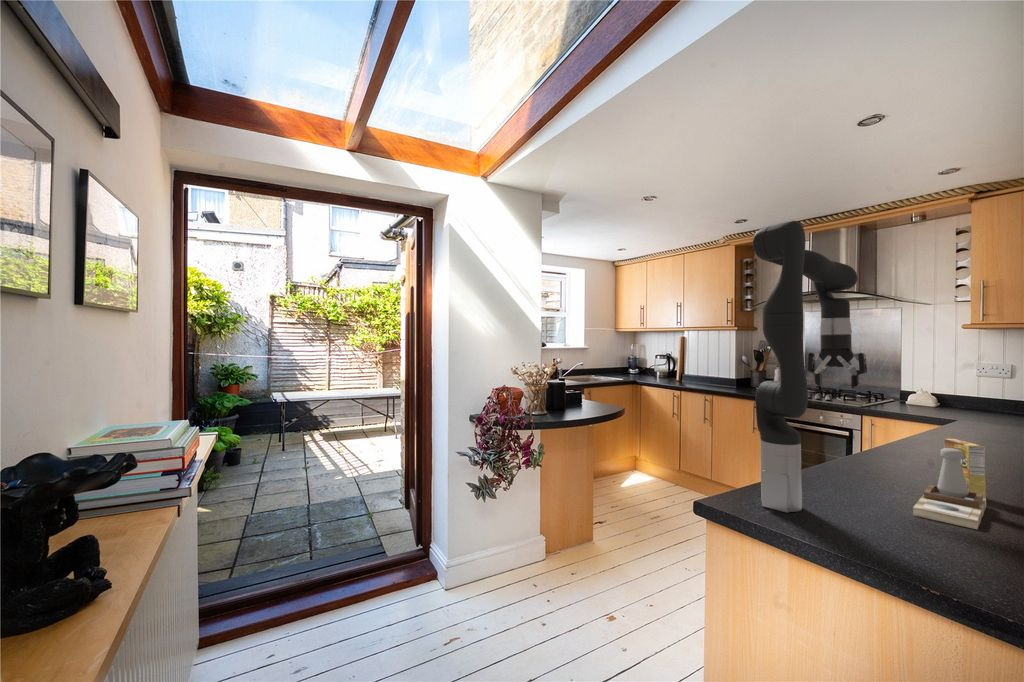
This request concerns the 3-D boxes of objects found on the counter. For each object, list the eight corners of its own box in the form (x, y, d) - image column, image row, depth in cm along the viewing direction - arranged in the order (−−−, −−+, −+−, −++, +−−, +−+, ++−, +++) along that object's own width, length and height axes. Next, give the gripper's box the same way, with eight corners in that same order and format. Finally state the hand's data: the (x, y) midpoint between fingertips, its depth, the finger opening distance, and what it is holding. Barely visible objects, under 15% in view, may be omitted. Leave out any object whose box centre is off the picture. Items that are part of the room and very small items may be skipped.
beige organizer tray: (977, 529, 100) (977, 514, 100) (913, 515, 108) (912, 501, 108) (986, 506, 114) (985, 493, 114) (928, 495, 122) (928, 483, 122)
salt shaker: (975, 503, 111) (974, 452, 111) (948, 501, 112) (947, 451, 112) (957, 495, 116) (956, 446, 116) (932, 493, 118) (931, 446, 118)
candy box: (943, 490, 126) (942, 438, 126) (960, 491, 125) (959, 438, 126) (969, 501, 118) (968, 445, 118) (987, 502, 117) (986, 445, 117)
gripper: (804, 334, 134) (805, 386, 134) (861, 332, 123) (862, 389, 123) (812, 334, 139) (813, 384, 139) (868, 333, 128) (869, 387, 128)
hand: (836, 387), depth 131 cm, fingers open, 8 cm apart
